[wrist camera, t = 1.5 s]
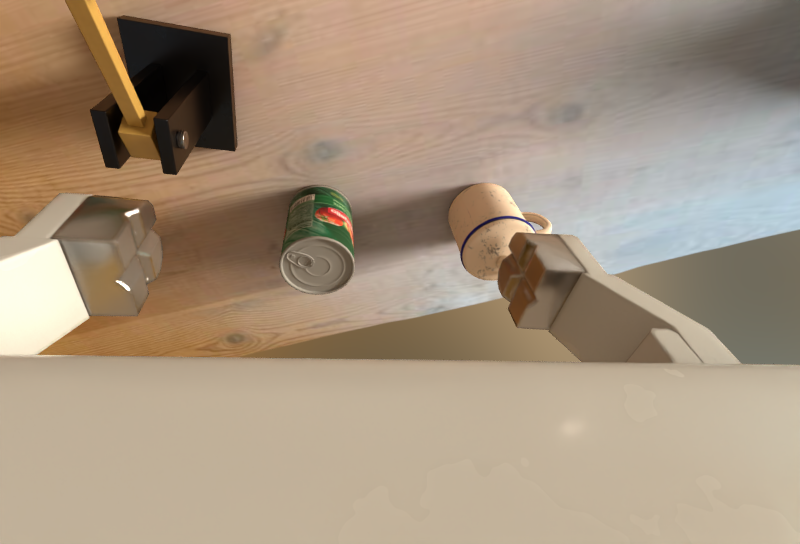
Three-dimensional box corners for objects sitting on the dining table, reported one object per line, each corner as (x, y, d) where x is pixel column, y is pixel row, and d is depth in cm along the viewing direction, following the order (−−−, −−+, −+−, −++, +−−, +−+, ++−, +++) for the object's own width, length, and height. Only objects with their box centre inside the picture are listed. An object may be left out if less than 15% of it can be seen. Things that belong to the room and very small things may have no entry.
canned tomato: (363, 203, 52) (369, 257, 44) (333, 246, 56) (332, 304, 47) (306, 173, 48) (300, 225, 40) (277, 221, 52) (266, 278, 44)
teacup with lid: (446, 243, 58) (466, 301, 49) (445, 185, 52) (467, 239, 43) (530, 230, 58) (565, 286, 49) (538, 172, 52) (580, 223, 43)
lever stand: (122, 15, 37) (38, 52, 26) (230, 34, 38) (191, 76, 28) (147, 134, 43) (87, 202, 33) (237, 146, 45) (208, 213, 35)
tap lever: (-1, -69, 21) (-20, -40, 20) (133, -42, 22) (122, -13, 21) (111, 130, 33) (103, 154, 32) (192, 140, 34) (187, 163, 33)
